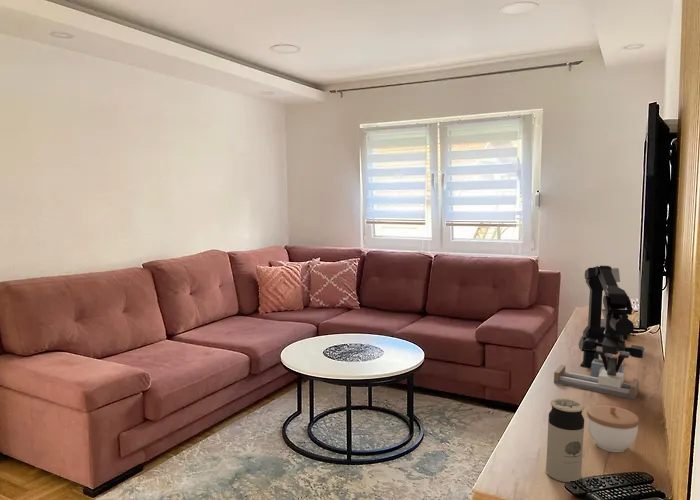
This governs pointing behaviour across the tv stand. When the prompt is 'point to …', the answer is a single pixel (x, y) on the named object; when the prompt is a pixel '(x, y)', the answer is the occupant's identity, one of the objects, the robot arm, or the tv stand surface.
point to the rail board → (594, 383)
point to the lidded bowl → (612, 427)
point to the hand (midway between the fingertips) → (611, 371)
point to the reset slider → (617, 359)
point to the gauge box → (600, 367)
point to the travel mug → (565, 440)
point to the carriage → (611, 374)
